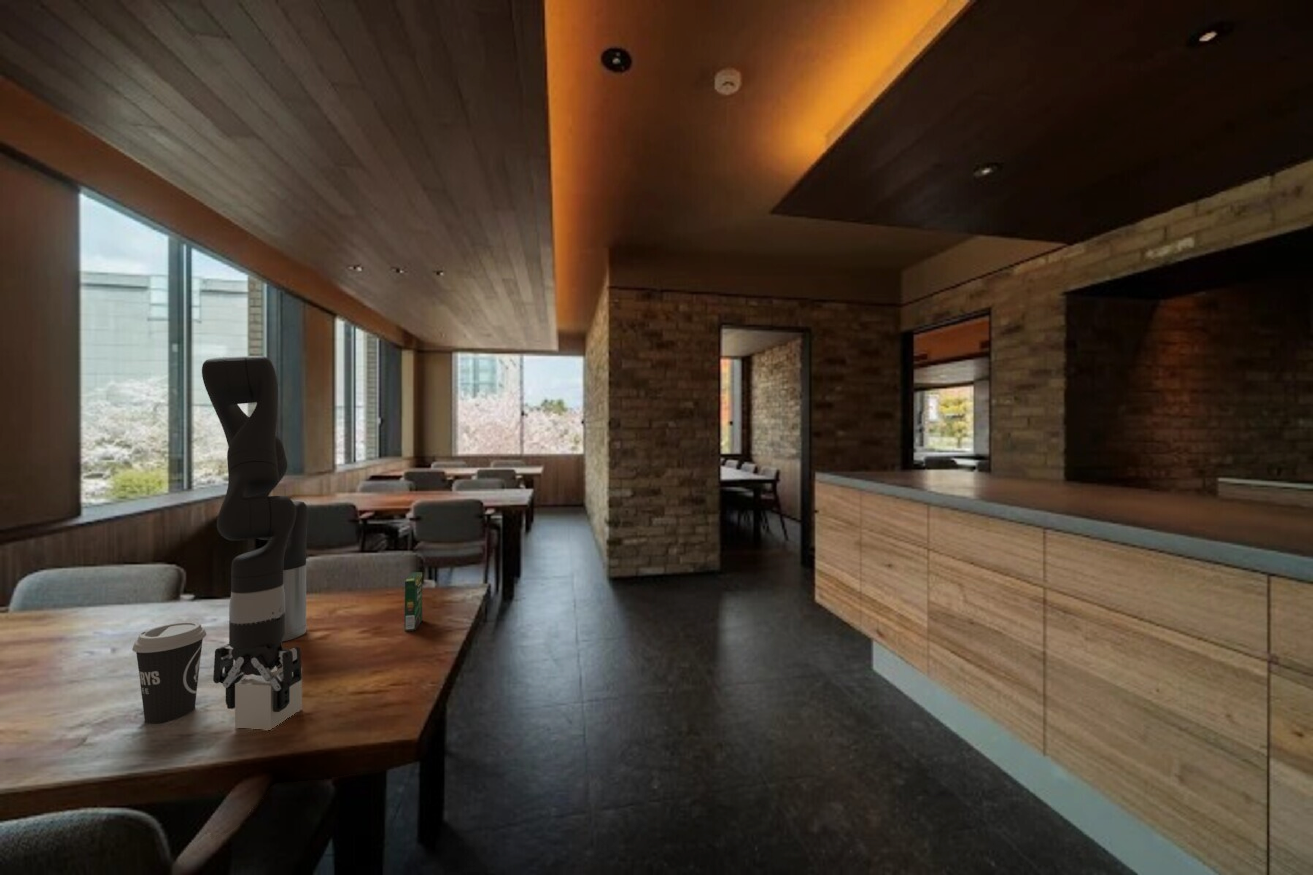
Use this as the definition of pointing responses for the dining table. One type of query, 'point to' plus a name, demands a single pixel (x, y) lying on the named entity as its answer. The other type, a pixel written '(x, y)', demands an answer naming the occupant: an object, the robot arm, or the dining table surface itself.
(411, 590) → the coffee box
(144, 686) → the coffee cup
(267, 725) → the block
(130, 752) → the dining table surface
